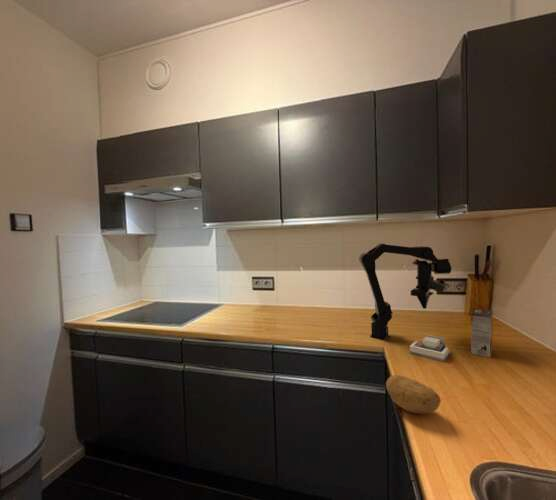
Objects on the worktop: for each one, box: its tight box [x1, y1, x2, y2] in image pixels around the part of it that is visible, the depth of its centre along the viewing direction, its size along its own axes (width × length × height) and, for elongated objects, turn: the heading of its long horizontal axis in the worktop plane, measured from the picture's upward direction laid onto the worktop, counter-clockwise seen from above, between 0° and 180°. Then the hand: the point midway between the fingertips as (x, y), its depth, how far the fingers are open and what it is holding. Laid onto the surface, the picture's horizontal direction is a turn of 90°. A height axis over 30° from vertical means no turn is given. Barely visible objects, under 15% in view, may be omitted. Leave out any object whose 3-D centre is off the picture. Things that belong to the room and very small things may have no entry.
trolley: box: [419, 334, 446, 352], centre depth 115 cm, size 8×8×5 cm
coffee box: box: [470, 307, 493, 358], centre depth 114 cm, size 9×6×16 cm
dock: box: [409, 340, 452, 363], centre depth 115 cm, size 12×11×3 cm
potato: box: [385, 374, 442, 415], centre depth 79 cm, size 10×14×8 cm
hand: (424, 308), depth 132 cm, fingers closed
